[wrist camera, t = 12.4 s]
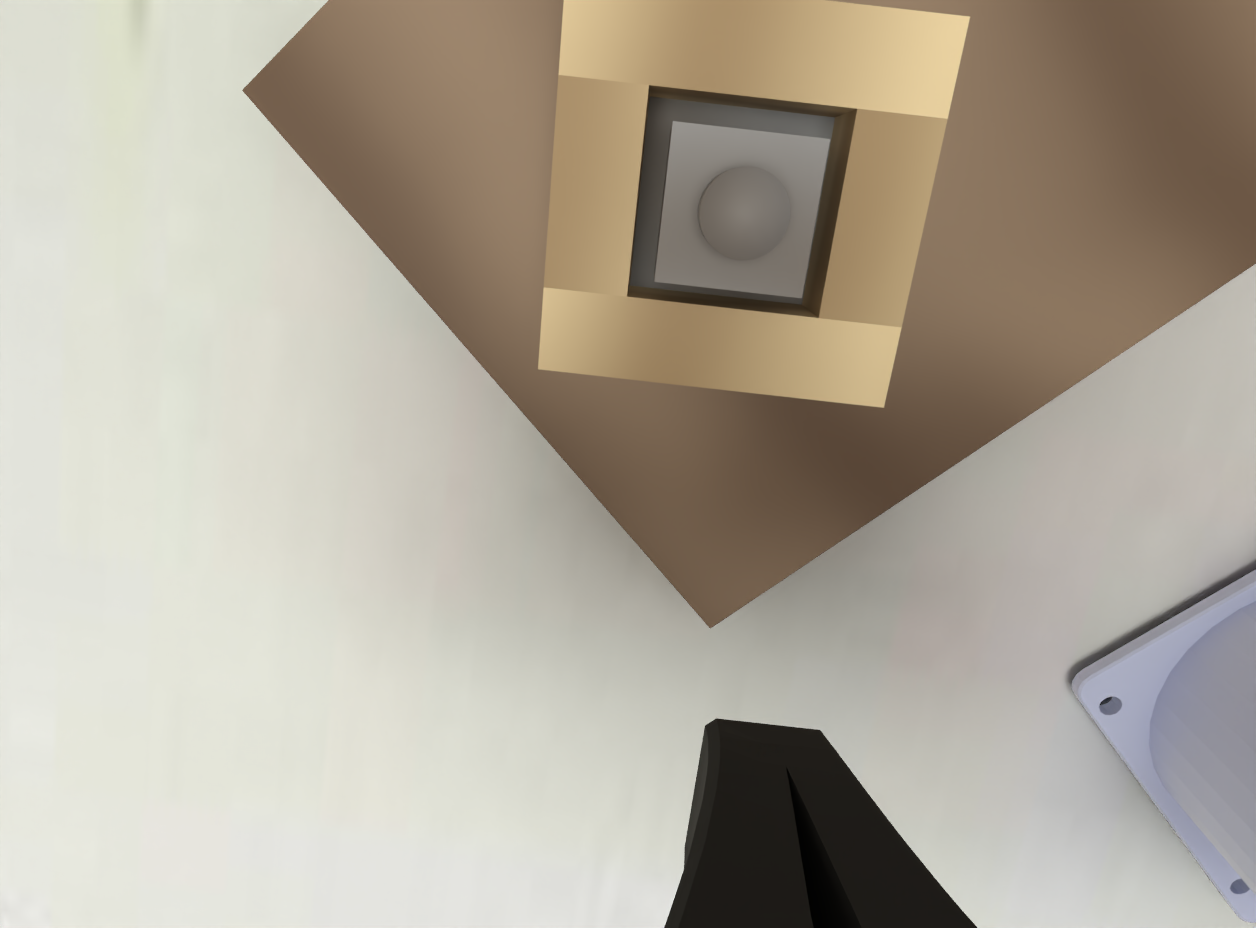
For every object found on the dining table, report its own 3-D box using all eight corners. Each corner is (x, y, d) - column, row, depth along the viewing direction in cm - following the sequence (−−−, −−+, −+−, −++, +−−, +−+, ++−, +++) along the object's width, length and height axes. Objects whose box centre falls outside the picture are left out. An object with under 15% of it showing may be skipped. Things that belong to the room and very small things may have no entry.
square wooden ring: (934, 36, 12) (971, 16, 11) (861, 385, 14) (884, 408, 13) (576, -5, 12) (566, -30, 11) (549, 350, 14) (537, 369, 13)
